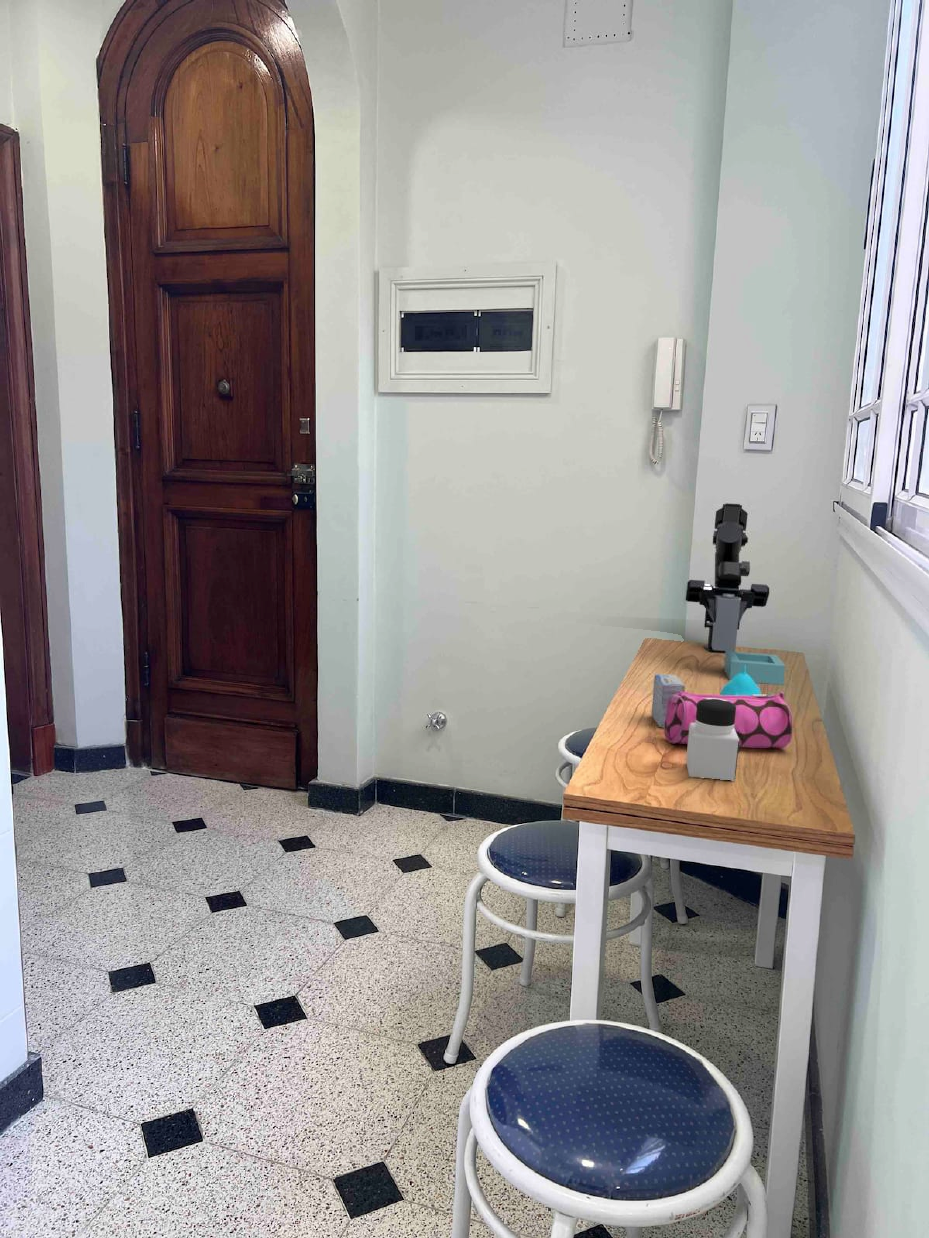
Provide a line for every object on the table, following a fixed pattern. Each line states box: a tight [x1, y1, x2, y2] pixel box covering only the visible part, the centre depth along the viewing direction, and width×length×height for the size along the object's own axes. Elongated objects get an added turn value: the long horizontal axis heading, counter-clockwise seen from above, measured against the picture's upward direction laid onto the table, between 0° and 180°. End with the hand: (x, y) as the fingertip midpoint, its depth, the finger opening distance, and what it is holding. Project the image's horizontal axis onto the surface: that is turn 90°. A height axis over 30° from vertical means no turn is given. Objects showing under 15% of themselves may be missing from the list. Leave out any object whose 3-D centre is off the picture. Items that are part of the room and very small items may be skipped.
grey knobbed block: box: [712, 593, 741, 652], centre depth 207 cm, size 5×5×13 cm
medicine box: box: [651, 673, 686, 729], centre depth 169 cm, size 8×4×9 cm, turn 179°
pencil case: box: [663, 690, 794, 749], centre depth 157 cm, size 21×10×10 cm, turn 96°
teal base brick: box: [723, 651, 786, 686], centre depth 210 cm, size 12×12×4 cm
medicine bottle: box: [685, 698, 740, 782], centre depth 142 cm, size 7×7×12 cm
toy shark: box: [719, 665, 762, 696], centre depth 175 cm, size 10×18×11 cm, turn 172°
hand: (726, 622), depth 206 cm, fingers closed on grey knobbed block, 5 cm apart
